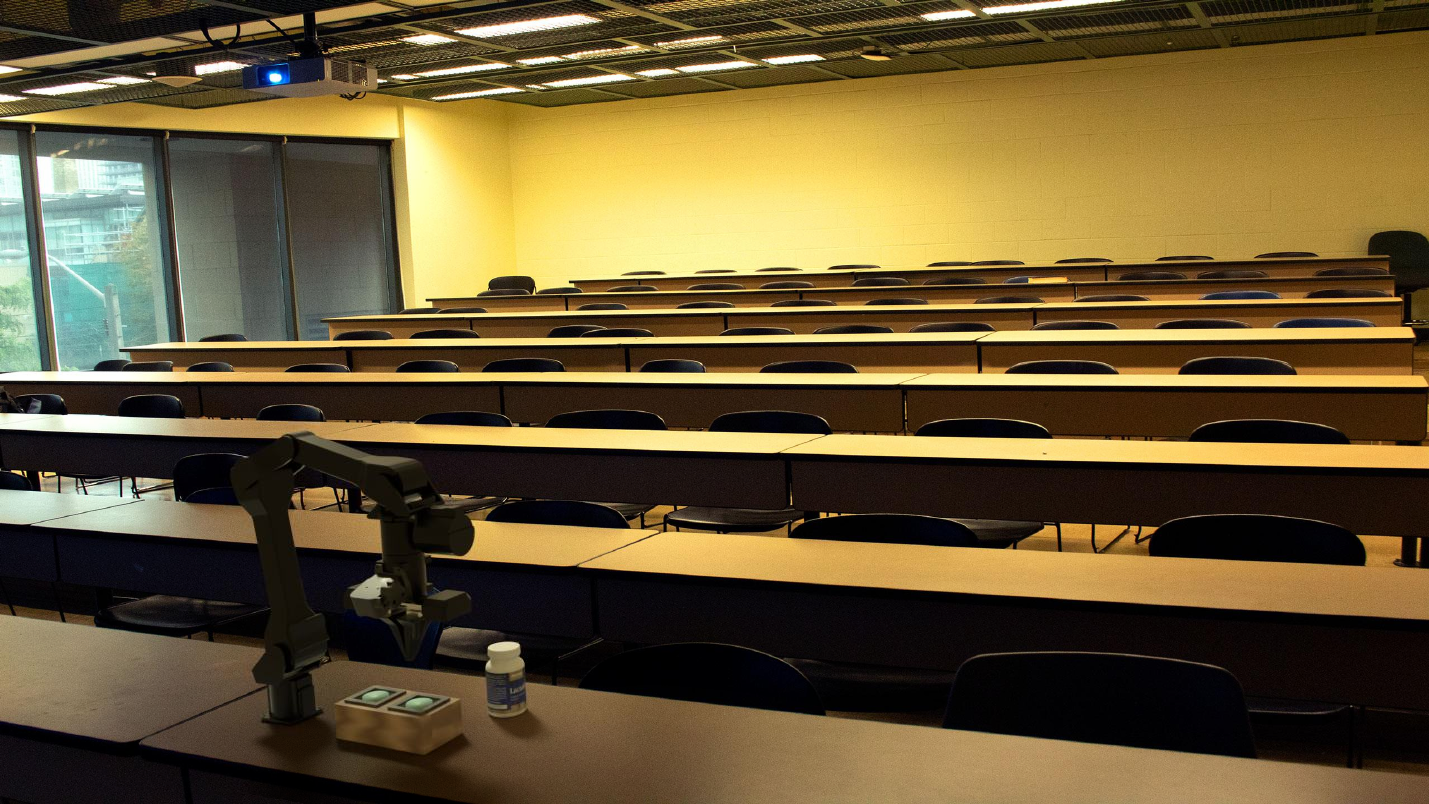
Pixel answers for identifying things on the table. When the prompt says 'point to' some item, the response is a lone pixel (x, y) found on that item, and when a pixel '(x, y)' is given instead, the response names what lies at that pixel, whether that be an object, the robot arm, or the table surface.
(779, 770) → the table surface
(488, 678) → the pill bottle
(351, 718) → the socket block
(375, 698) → the plunger
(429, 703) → the plunger
